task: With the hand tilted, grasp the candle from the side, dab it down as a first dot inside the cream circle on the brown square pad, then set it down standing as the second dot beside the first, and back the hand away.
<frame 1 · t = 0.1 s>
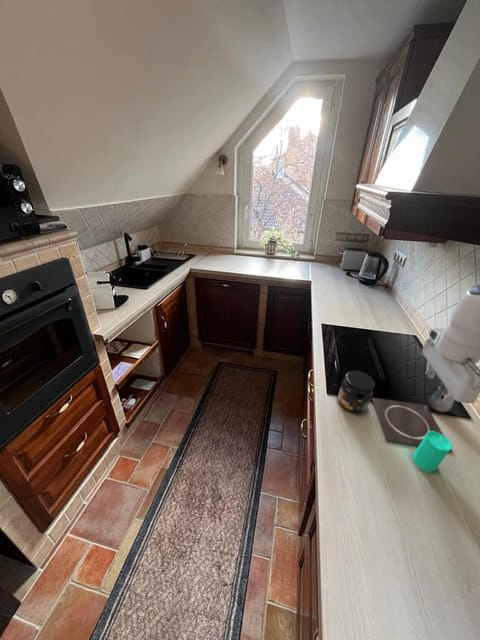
hand: (436, 388, 70), 23 cm above the worktop, tool pointing down, fingers open, 8 cm apart
plastic bottle: (437, 408, 93), on the worktop
brown square pad: (407, 422, 87), on the worktop
supplement container: (351, 404, 94), on the worktop
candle: (423, 462, 75), on the worktop
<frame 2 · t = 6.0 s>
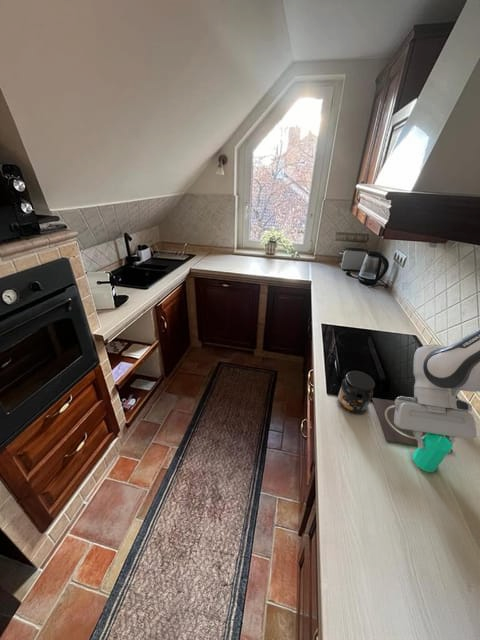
hand: (434, 450, 71), 7 cm above the worktop, tool tilted 45°, fingers closed on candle, 5 cm apart
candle: (423, 462, 75), on the worktop, touching gripper
everything else where it was.
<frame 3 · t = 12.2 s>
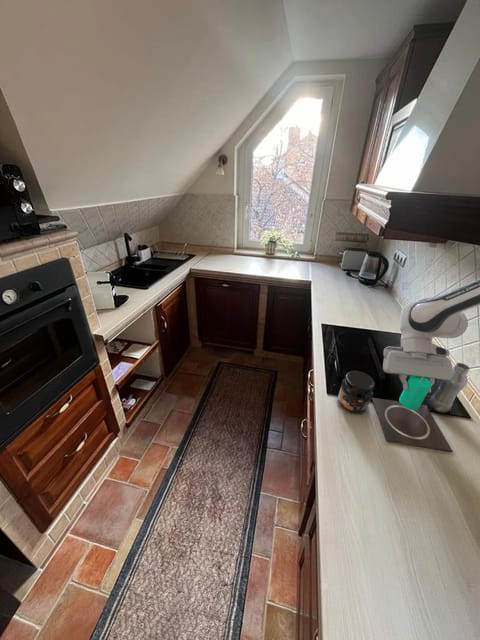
hand: (417, 390, 83), 13 cm above the worktop, tool tilted 45°, fingers closed on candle, 5 cm apart
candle: (408, 403, 87), point 6 cm above the worktop, touching gripper
everything else where it was.
when the fingers open (7 cm above the worktop, at t = 18.4 s): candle stays where it is, resting on brown square pad.
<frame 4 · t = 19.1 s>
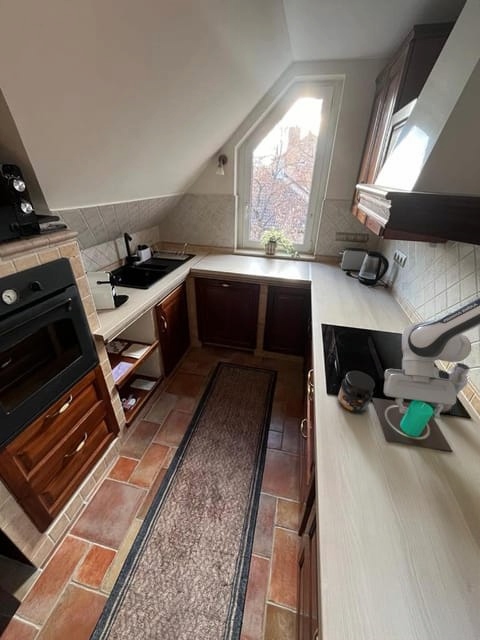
hand: (419, 415, 80), 8 cm above the worktop, tool tilted 45°, fingers open, 8 cm apart
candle: (409, 428, 84), point 1 cm above the worktop, touching brown square pad
everything else where it was.
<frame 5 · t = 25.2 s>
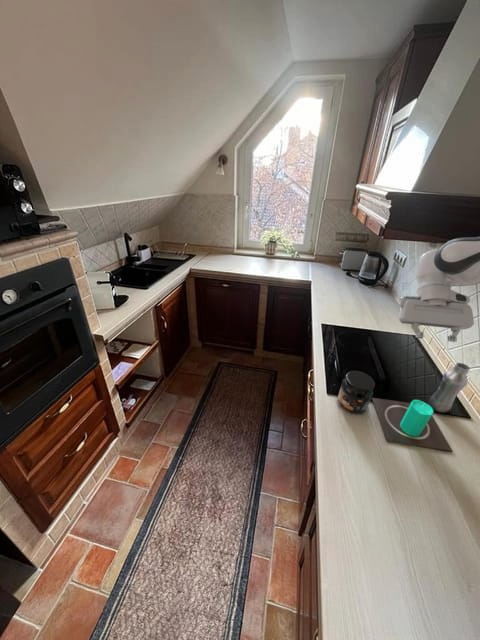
hand: (435, 339, 79), 29 cm above the worktop, tool tilted 45°, fingers open, 8 cm apart
nothing on the worktop moved.
at the end: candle 0.0 cm from the target spot, point 0.5 cm above the worktop; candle tilted 0°; the gripper is holding nothing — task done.
